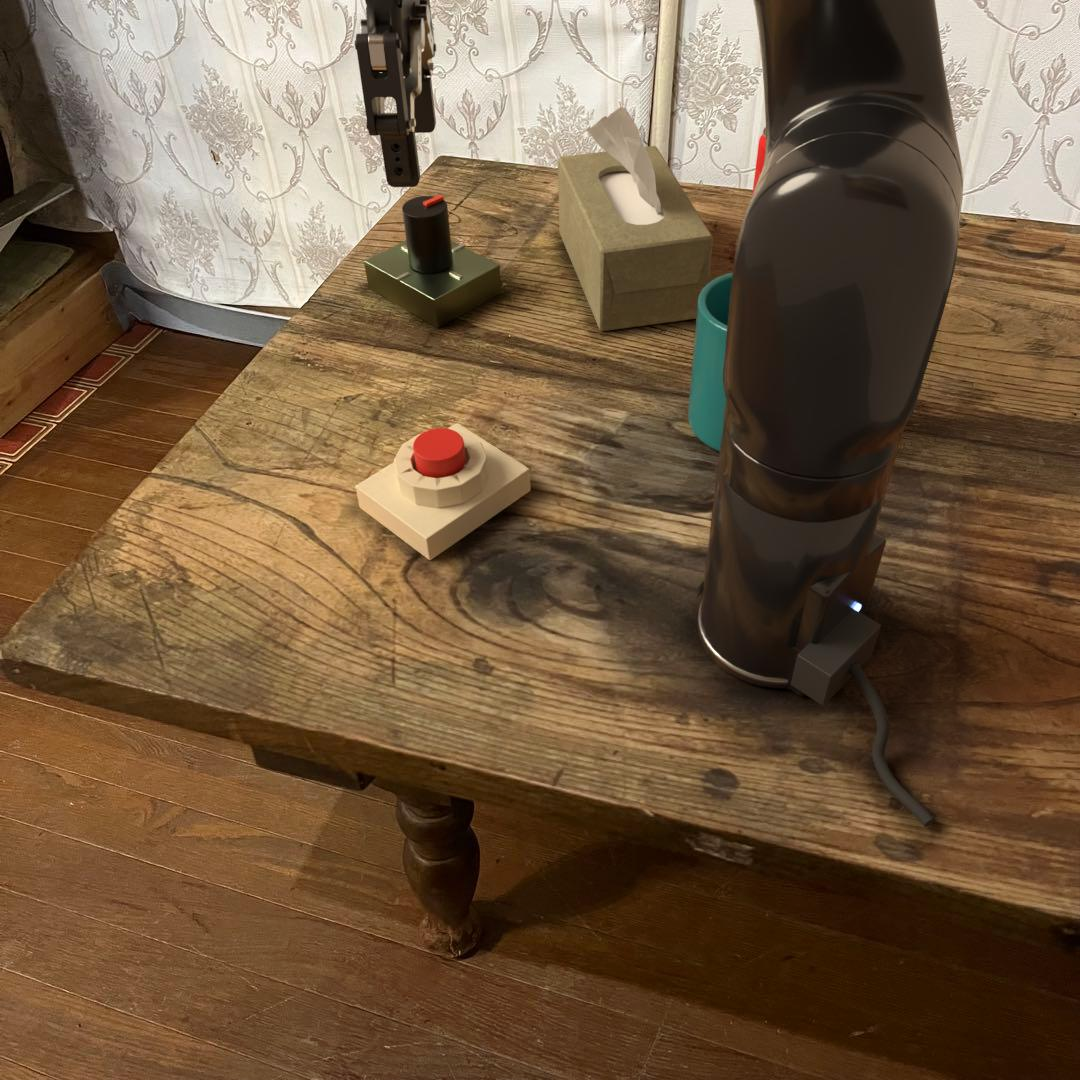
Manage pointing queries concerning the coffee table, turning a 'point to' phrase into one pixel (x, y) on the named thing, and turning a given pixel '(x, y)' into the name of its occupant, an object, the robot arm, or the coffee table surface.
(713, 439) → the cup
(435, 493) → the switch box
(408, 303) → the control panel
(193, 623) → the coffee table surface
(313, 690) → the coffee table surface
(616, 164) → the tissue box
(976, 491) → the coffee table surface
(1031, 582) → the coffee table surface
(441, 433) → the power button
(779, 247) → the robot arm
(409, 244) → the dial
